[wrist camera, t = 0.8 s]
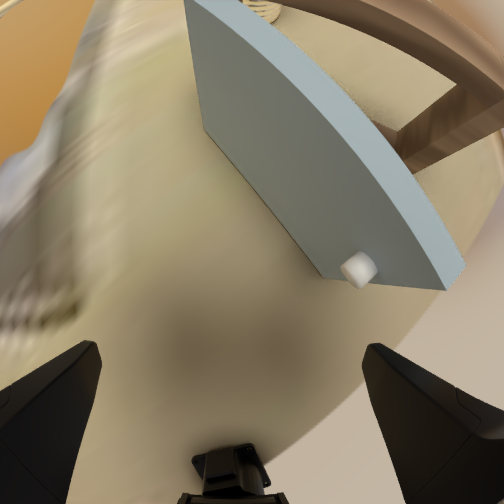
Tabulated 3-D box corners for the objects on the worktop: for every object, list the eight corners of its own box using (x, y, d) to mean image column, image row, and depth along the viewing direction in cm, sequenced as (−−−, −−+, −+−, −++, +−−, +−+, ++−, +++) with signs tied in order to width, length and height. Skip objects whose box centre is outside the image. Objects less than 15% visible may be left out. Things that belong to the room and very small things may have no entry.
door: (313, 287, 25) (428, 312, 9) (193, 136, 25) (160, 3, 9) (336, 267, 26) (466, 265, 10) (217, 120, 25) (209, -18, 9)
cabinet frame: (397, 182, 27) (529, 113, 10) (203, 115, 26) (183, -38, 8) (401, 148, 27) (517, 69, 10) (217, 84, 26) (213, -65, 9)
